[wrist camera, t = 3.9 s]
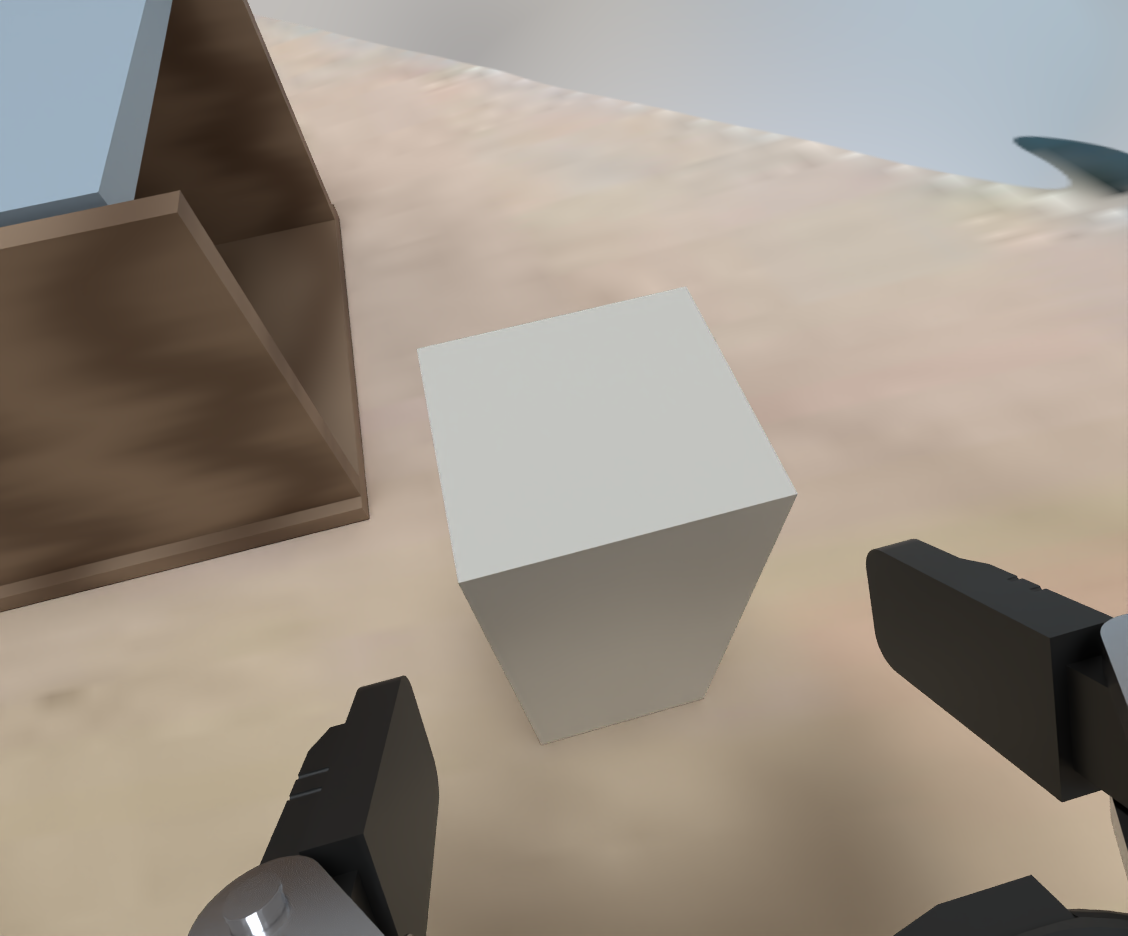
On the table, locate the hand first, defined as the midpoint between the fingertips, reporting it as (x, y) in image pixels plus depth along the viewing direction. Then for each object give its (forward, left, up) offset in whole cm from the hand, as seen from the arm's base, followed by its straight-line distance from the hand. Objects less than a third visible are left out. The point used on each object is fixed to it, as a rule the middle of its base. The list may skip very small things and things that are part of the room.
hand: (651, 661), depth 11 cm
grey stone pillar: (0, +3, -9) cm, 10 cm away
